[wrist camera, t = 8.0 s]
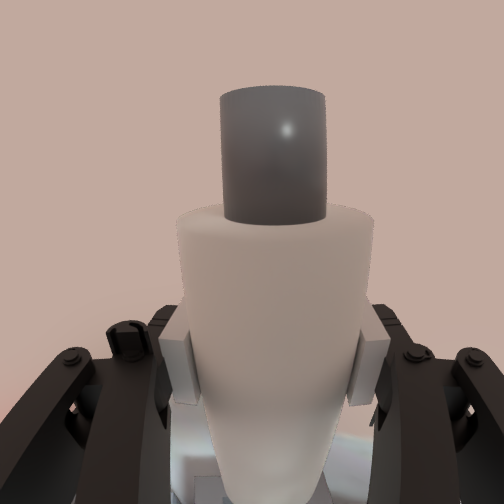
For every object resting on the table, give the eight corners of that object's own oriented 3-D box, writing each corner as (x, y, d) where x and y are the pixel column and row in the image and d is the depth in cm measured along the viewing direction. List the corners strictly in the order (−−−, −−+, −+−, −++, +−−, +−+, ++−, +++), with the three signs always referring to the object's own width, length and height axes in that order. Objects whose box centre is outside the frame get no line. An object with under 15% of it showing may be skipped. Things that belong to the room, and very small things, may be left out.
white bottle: (325, 507, 10) (417, 90, 4) (226, 521, 9) (146, 76, 4) (305, 441, 14) (330, 115, 9) (222, 450, 14) (184, 116, 9)
